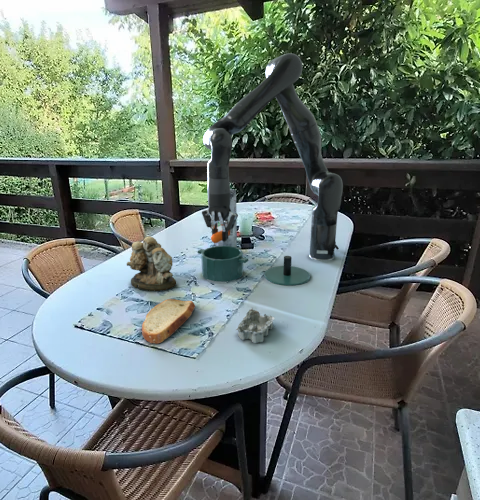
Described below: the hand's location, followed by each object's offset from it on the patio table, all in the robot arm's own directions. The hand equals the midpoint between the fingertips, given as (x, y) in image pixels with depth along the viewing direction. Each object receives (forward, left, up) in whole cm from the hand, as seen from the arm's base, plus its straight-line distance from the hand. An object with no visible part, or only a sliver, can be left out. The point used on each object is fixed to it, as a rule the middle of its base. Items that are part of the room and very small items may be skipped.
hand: (220, 240), depth 127 cm
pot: (-1, 0, -14) cm, 13 cm away
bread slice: (+34, +5, -14) cm, 37 cm away
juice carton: (-26, -15, -14) cm, 33 cm away
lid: (-10, +21, -13) cm, 27 cm away
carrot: (0, 0, 0) cm, 0 cm away
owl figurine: (+18, -17, -14) cm, 28 cm away
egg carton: (+26, +28, -14) cm, 41 cm away
